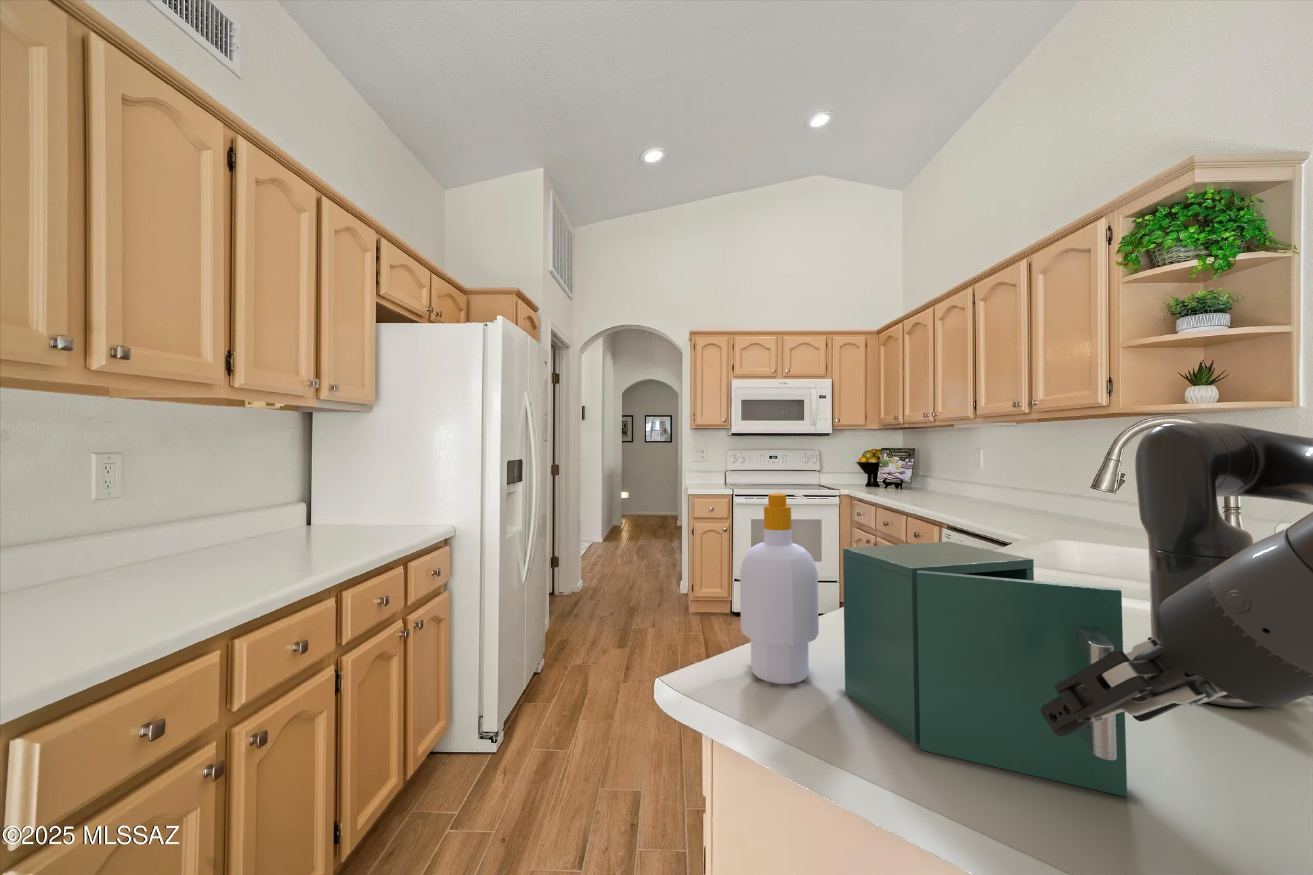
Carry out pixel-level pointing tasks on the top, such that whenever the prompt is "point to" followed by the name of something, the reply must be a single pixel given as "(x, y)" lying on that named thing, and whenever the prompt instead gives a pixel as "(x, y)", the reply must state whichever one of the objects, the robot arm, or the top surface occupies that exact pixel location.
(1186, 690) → the robot arm
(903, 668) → the box
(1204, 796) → the top surface
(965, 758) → the fridge door
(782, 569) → the soap bottle
